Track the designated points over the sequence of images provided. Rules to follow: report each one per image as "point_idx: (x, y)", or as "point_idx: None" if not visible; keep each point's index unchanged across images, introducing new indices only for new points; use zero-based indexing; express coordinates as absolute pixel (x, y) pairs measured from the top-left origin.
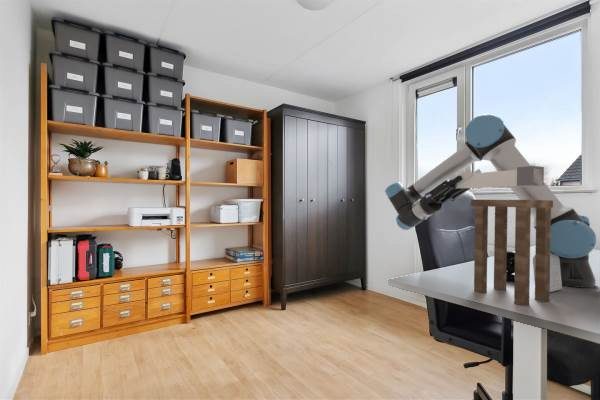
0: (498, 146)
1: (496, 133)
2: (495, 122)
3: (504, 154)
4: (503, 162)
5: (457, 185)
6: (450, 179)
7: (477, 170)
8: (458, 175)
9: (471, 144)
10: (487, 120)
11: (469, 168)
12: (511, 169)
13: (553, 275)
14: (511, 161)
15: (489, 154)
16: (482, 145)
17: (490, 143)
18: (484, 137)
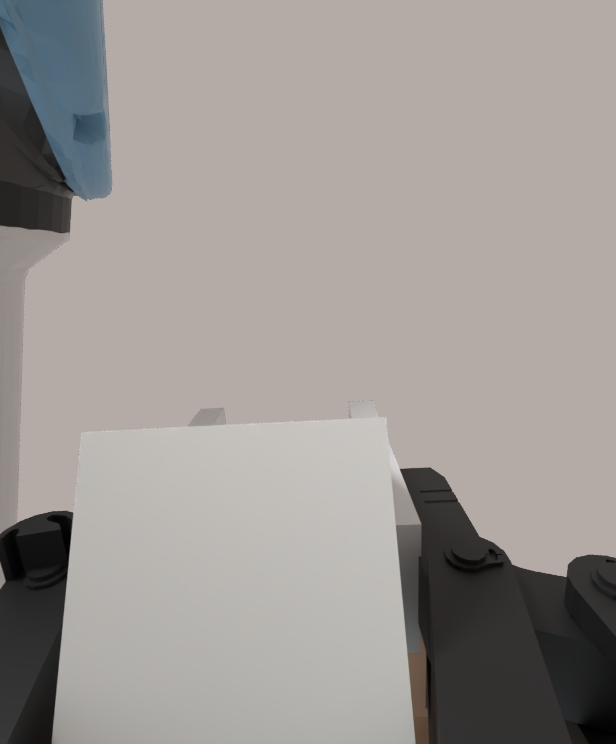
0: (68, 239)
1: (110, 156)
2: (106, 78)
3: (23, 307)
4: (8, 365)
5: (406, 640)
6: (390, 536)
7: (221, 419)
8: (395, 461)
9: (15, 4)
10: (102, 6)
11: (353, 401)
12: (12, 435)
13: None
14: (21, 375)
15: (8, 248)
16: (101, 161)
17: (103, 193)
18: (106, 110)
